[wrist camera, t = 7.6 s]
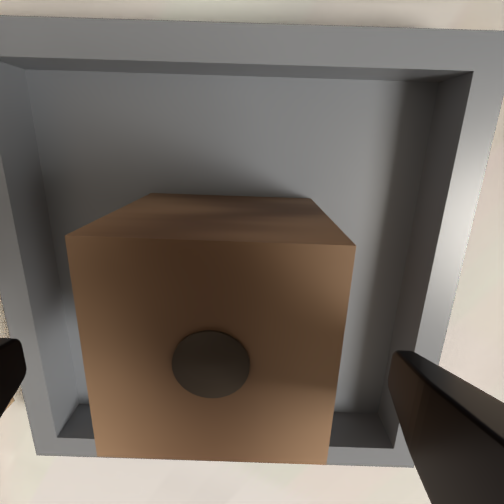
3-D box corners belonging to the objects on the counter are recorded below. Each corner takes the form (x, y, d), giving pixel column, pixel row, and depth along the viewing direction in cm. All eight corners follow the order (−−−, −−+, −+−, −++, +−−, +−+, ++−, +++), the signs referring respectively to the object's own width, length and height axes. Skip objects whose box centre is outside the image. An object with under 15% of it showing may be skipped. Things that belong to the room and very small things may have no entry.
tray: (465, 53, 12) (519, 31, 9) (391, 420, 17) (413, 467, 14) (2, 39, 12) (-64, 13, 9) (68, 410, 17) (36, 455, 14)
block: (310, 198, 13) (357, 247, 7) (298, 337, 14) (327, 468, 9) (151, 192, 13) (62, 236, 7) (159, 332, 14) (95, 460, 9)
